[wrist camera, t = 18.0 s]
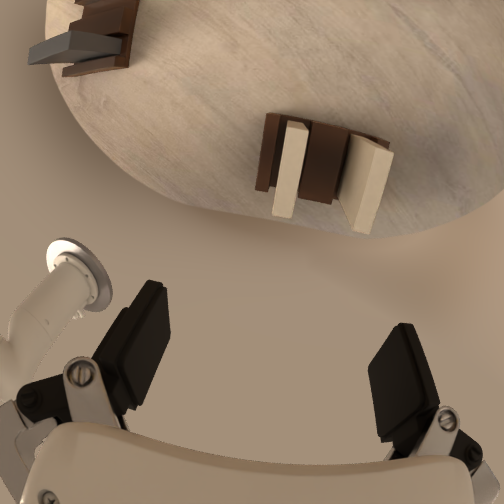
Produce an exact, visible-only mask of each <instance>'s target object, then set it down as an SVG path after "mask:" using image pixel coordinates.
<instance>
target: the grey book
mask: <svg viewBox="0 0 504 504" xmlns="http://www.w3.org/2000/svg"><path fill="white" fill-rule="evenodd" d="M121 44H122V39H119V38H114V37H110V36H105V35H99V34H94V33H88V32H81V31H74V30H71V31H68V32H65V33H63V34H60V35H58V36H55V37H53V38H50V39H48V40H46V41H44V42H42V43H39V44H37V45H35V46H33V47H31V48H30V50H29V57H28V65H34V64H51V63H81V62H85V61H90V60H94V59H99V58H104V57H109V56H115V55H120V51H121Z"/></svg>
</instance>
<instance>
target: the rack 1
mask: <svg viewBox="0 0 504 504" xmlns="http://www.w3.org/2000/svg"><path fill="white" fill-rule="evenodd" d="M139 2H140V0H75V3H74V4H78V5H82V6H84V10H83V15H82V19H80V20H77V21H74V22H72V23H70V25H69V30H68V31H71V30H74V31H81V32H88V33H94V34H99V35H105V36H110V37H114V38H119V39H122V44H121V51H120V55H115V56H109V57H104V58H99V59H94V60H90V61H85V62H81V63H74V65H72V66H68V67H65V68H63V72H62V77H77V76H82V75H86V74H91V73H97V72H103V71H109V70H115V69H123V68H128V66H129V58H130V51H131V44H132V38H133V32H134V26H135V21H136V16H137V11H138V6H139Z"/></svg>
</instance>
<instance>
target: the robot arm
mask: <svg viewBox="0 0 504 504" xmlns="http://www.w3.org/2000/svg"><path fill="white" fill-rule="evenodd" d="M97 297H98V286H97V282H96V280H95V278H94V276H93V274H92V273H91V271H90V270H89V268H88V267H87V266H86V265H85V264H84V263H83V262H82V261H81V260H79V259H78V258H77V257H75V256H73V255H71V254H68V253H61V254H59V255H58V256H57V257H56V258H55V259H54V261H53V271H52V272H51V273H50V274H49V275H48V276H47V277H46V278H45V279H44V280H43V281H42V282H41V283H40V284H39V285H38V286H37V287H36V288H35V289H34V290H33V291H32V292H31V293H30V294H29V295H28V296H27V297H26V299H25V300H24V301H23V302H22V303H21V304H20V305H19V306H18V307H17V308H16V310H15V311H14V312H13V313H12V315H11V317H10V320H9V325H8V341H6V340H5V338H4V337H2V335H1V334H0V400H1V401H2V402H4V404H3V405H1V406H0V476H1V478H2V480H3V482H4V483H5V485H6V487H7V488H8V490H9V492H10V494H11V495H12V497H13V498H14V500H15V501H16V503H17V504H492V503H493V502H494V500H495V499H496V498H497V496H498V494H499V490H500V485H499V482H498V480H497V479H496V477H495V476H494V474H493V473H492V471H491V469H490V468H489V466H488V465H487V463H486V462H485V460H483V461H482V457H483V453H482V448H481V446H480V445H479V444H478V443H477V442H476V441H474V440H473V439H472V438H471V437H469V436H468V435H467V434H465V433H464V432H463V431H461V430H460V429H459V426H460V419H459V416H458V414H457V412H456V411H455V410H454V409H453V408H451V407H449V406H442V407H440V408H439V406H438V405H439V404H440V400H439V396H438V393H437V390H436V386H435V383H434V380H433V377H432V374H431V371H430V368H429V365H428V362H427V360H426V357H425V354H424V351H423V348H422V346H421V343H420V341H419V338H418V335H417V333H416V330H415V328H414V326H413V324H408V323H399V324H398V325H397V326H395V327H394V328H393V330H392V331H391V333H390V335H389V336H388V338H387V339H386V341H385V342H384V344H383V345H382V347H381V348H380V350H379V351H378V352H377V354H376V355H375V357H374V358H373V360H372V361H371V363H370V364H369V366H368V375H369V380H370V385H371V392H372V398H373V404H374V411H375V418H376V426H377V434H378V436H379V437H380V438H381V443H384V442H393V447H392V448H391V450H390V451H389V453H388V455H387V456H386V457H385V459H384V461H380V462H370V463H359V464H341V465H299V464H298V465H297V464H281V463H268V462H260V461H251V460H244V459H237V458H230V457H225V456H220V455H214V454H209V453H204V452H200V451H195V450H192V449H188V448H184V447H180V446H176V445H172V444H168V443H165V442H161V441H158V440H155V439H151V438H148V437H145V436H142V435H139V434H136V433H132V432H130V430H129V428H128V425H127V423H126V420H125V418H124V415H125V414H126V411H127V409H128V408H129V409H132V410H136V408H137V406H138V405H139V406H141V405H142V404H143V401H144V399H145V397H146V394H147V392H148V389H149V387H150V385H151V382H152V380H153V377H154V375H155V372H156V370H157V368H158V365H159V363H160V361H161V358H162V356H163V353H164V351H165V349H166V347H167V344H168V342H169V340H170V334H171V331H170V323H169V311H168V298H167V288H166V287H163V284H162V283H161V282H156V281H153V280H147V281H146V283H145V284H144V286H143V287H142V289H141V290H140V292H139V293H138V295H137V296H136V298H135V299H134V301H133V302H132V304H131V305H130V307H129V308H128V307H125V308H123V309H122V310H121V312H120V313H119V315H118V316H117V318H116V319H115V321H114V322H113V324H112V325H111V327H110V329H109V330H108V332H107V333H106V335H105V337H104V338H103V340H102V341H101V343H100V345H99V346H98V348H97V349H96V351H95V353H94V354H93V356H92V358H89V357H84V356H81V357H76V358H73V359H72V360H70V361H69V362H68V363H67V364H66V366H65V367H64V370H63V374H60V375H56V376H53V377H50V378H46V379H43V380H39V381H36V382H32V379H33V377H34V374H35V372H36V370H37V368H38V366H39V365H40V363H41V361H42V359H43V358H44V356H45V355H46V353H47V352H48V350H49V349H50V348H51V346H52V345H53V343H54V342H55V340H56V339H57V338H58V336H59V335H60V334H61V332H62V331H63V330H64V328H65V327H66V325H67V324H68V323H69V322H70V320H71V319H72V318H73V319H78V318H79V316H80V317H81V318H83V317H85V313H84V310H83V308H84V307H85V305H89V304H92V303H93V302H94V301H95V300H96V299H97ZM31 382H32V383H31ZM47 436H48V437H47ZM46 437H47V438H46ZM44 438H46V440H45V441H44V443H43V445H42V447H41V449H40V450H39V452H38V454H37V456H36V458H34V452H35V449H36V447H37V446H38V445H40V444H41V443H42V442H43V441H42V440H43V439H44Z"/></svg>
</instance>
